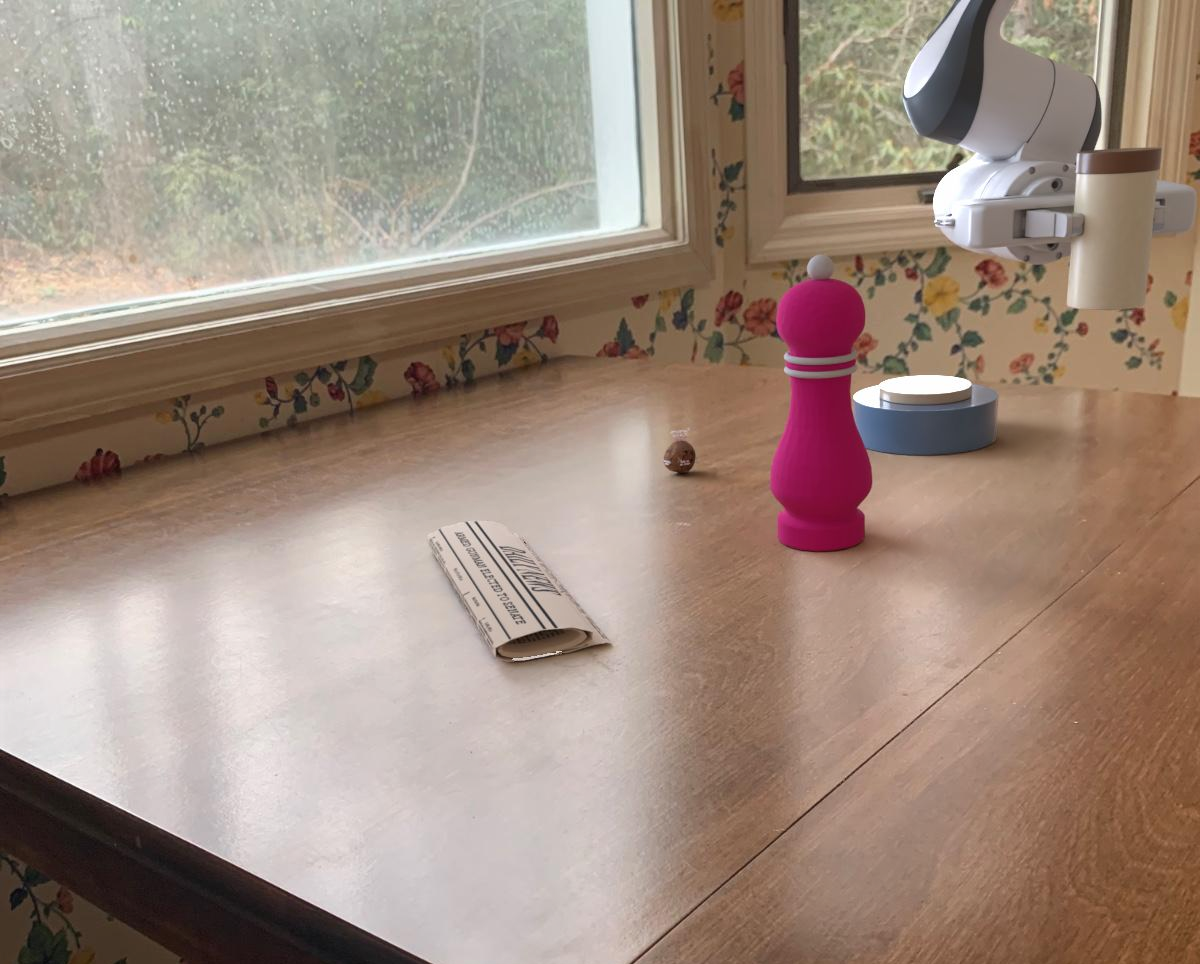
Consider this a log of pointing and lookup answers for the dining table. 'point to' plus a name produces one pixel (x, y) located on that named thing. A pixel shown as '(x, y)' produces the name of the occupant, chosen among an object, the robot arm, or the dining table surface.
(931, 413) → the two-tier round pedestal
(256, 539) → the dining table surface
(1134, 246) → the canister
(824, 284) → the pepper mill
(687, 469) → the chocolate
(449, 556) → the newspaper
